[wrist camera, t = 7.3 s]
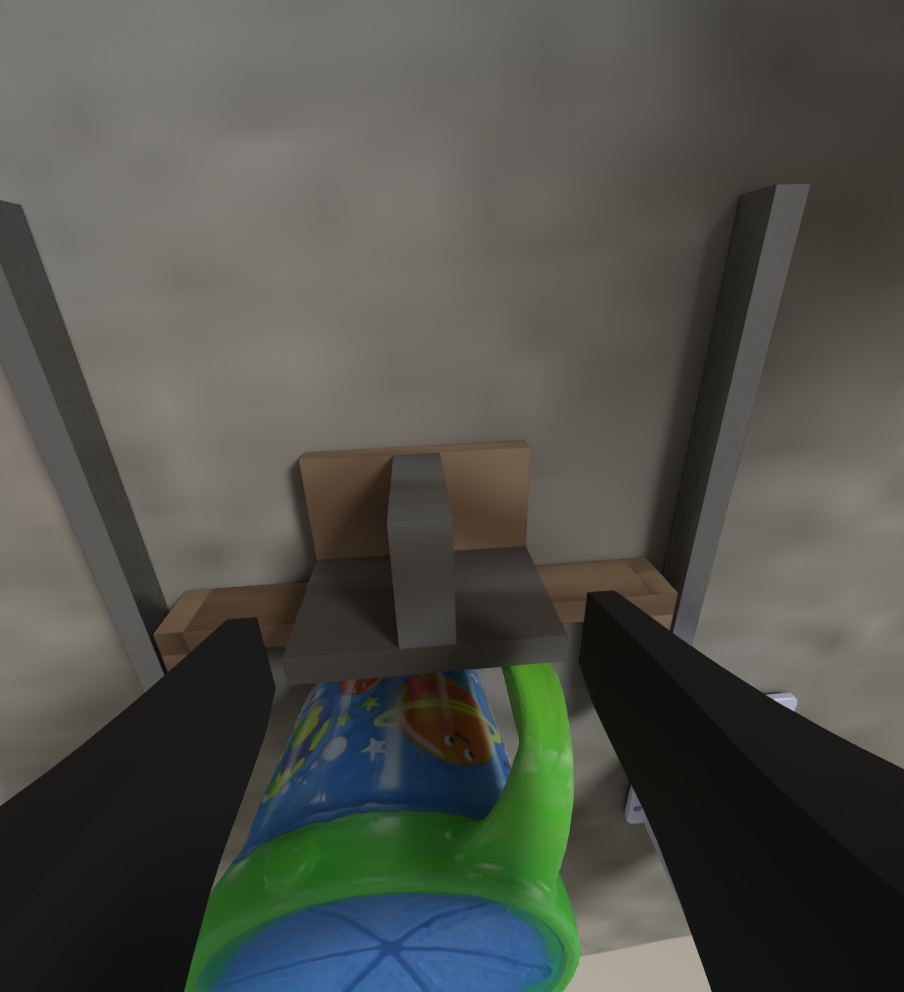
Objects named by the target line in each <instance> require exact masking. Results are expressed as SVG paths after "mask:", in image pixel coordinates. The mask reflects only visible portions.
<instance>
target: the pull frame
mask: <svg viewBox="0 0 904 992" xmlns="http://www.w3.org/2000/svg"><path fill="white" fill-rule="evenodd" d="M299 464H300V469H301V475H302V480H303V486H304V492H305V497H306V503H307V508H308V514H309V519H310V525H311V531H312V536H313V542H314V547H315V553H316V558H317V561H316V564H315V567H314V569H313V572H312V575H311V578H310V581H309V582H302V583H288V584H274V585H260V586H246V587H232V588H218V589H205V590H191V591H186V592H185V593H184V594H183V596H182V597H181V598H180V600H179V601H178V602H177V604H176V605H175V606H174V608H173V609H172V610H171V611H170V613H169V614H168V615H167V617H166V618H165V619H164V621H163V622H162V623H161V625H160V626H159V627H158V629H157V630H156V631H155V633H154V634H153V635H154V638H155V640H156V643H157V645H158V648H159V650H160V653H161V656H162V658H163V661H164V663H165V666H166V668H167V671H168V672H169V671H170V670H171V669H172V668H173V667H174V666H176V665H177V664H178V663H179V662H180V661H181V660H182V659H183V658H184V657H186V656H187V655H188V654H189V653H190V652H191V651H192V650H193V649H194V648H196V647H197V646H198V645H199V644H200V643H201V642H202V641H203V640H204V639H205V638H207V637H208V636H209V635H210V634H211V633H212V632H213V631H214V630H216V629H217V628H218V627H219V626H220V625H221V624H223V623H224V622H225V621H226V620H227V619H238V618H251V617H257V618H258V622H259V626H260V630H261V634H262V638H263V642H264V645H265V648H268V647H280V646H286V649H285V652H284V655H283V658H282V660H283V664H284V668H285V673H286V677H287V681H288V685H300V684H311V683H323V682H334V681H345V680H357V679H368V678H380V677H391V676H402V675H414V674H425V673H436V672H448V671H459V670H470V669H482V668H493V667H505V666H516V665H527V664H539V663H550V662H561V661H565V651H566V642H567V633H566V631H565V629H564V627H563V625H562V623H573V622H584V615H585V607H586V599H587V592H596V591H609V590H614V591H616V592H617V593H619V594H620V595H622V596H623V597H625V598H626V599H627V600H629V601H630V602H632V603H633V604H634V605H636V606H637V607H638V608H640V609H641V610H643V611H644V612H645V613H647V614H648V615H649V616H651V617H652V618H653V619H655V620H656V621H657V622H659V623H660V624H662V625H663V626H664V627H666V628H667V629H668V630H670V626H671V621H672V617H673V613H674V608H675V604H676V599H677V595H678V593H677V592H676V590H675V589H674V588H673V587H672V586H671V585H670V584H669V583H668V582H667V581H666V579H665V578H664V577H663V576H662V575H661V574H660V573H659V572H658V571H657V570H656V568H655V567H654V566H653V565H652V564H651V563H650V562H649V561H648V560H647V559H646V558H634V559H620V560H606V561H592V562H578V563H564V564H551V565H537V566H535V565H534V563H533V561H532V559H531V556H530V554H529V552H528V550H527V548H526V526H527V505H528V485H529V465H530V447H529V445H528V444H527V443H526V442H525V441H514V442H495V443H475V444H456V445H437V446H418V447H399V448H380V449H360V450H341V451H322V452H304V453H303V455H302V456H301V458H300V459H299Z"/></svg>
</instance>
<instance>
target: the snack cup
mask: <svg viewBox="0 0 904 992" xmlns="http://www.w3.org/2000/svg"><path fill="white" fill-rule="evenodd" d="M502 670H503V674H504V678H505V682H506V686H507V691H508V695H509V698H510V704H511V708H512V712H513V716H514V720H515V724H516V728H517V731H518V736H519V748H518V751H517V754H516V756H515V759H514V762H513V765H511V761H510V759H509V757H508V754H507V752H506V749H505V747H504V744H503V741H502V737H501V734H500V732H499V729H498V727H497V724H496V721H495V718H494V716H493V713H492V710H491V707H490V705H489V702H488V699H487V697H486V694H485V691H484V690H483V688H482V686H481V684H480V680H479V678H478V675H477V673H476V672H475V670H474V669H470V670H459V671H448V672H436V673H425V674H414V675H402V676H391V677H380V678H368V679H357V680H345V681H334V682H323V683H314V685H313V687H312V689H311V691H310V693H309V694H308V697H307V699H306V701H305V703H304V705H303V707H302V710H301V712H300V714H299V716H298V718H297V721H296V723H295V725H294V728H293V731H292V733H291V735H290V737H289V739H288V741H287V743H286V745H285V748H284V750H283V752H282V754H281V756H280V759H279V761H278V763H277V765H276V768H275V770H274V772H273V774H272V777H271V779H270V781H269V784H268V786H267V788H266V791H265V793H264V795H263V798H262V800H261V803H260V805H259V808H258V811H257V814H256V816H255V818H254V820H253V823H252V826H251V829H250V832H249V834H248V837H247V840H246V843H245V845H244V847H243V849H242V851H241V853H240V854H239V856H238V857H237V859H235V860H234V861H233V863H232V864H231V865H230V867H229V868H228V870H227V871H226V872H225V874H224V875H223V876H222V878H221V879H220V880H219V882H218V883H217V885H216V886H215V887H214V889H213V890H212V892H211V894H210V895H209V899H208V903H207V907H206V910H205V914H204V918H203V922H202V925H201V929H200V933H199V936H198V940H197V944H196V948H195V951H194V955H193V959H192V963H191V967H190V971H189V975H188V979H187V983H186V987H185V991H184V992H563V991H564V990H565V989H566V987H567V986H568V984H569V983H570V981H571V980H572V978H573V976H574V974H575V971H576V969H577V966H578V964H579V959H580V954H581V948H580V940H579V936H578V932H577V926H576V922H575V918H574V914H573V910H572V906H571V903H570V900H569V897H568V894H567V891H566V888H565V885H564V882H563V879H562V877H561V875H560V873H559V870H560V868H561V864H562V860H563V857H564V854H565V851H566V846H567V840H568V837H569V831H570V824H571V814H572V809H573V798H574V775H573V751H572V741H571V735H570V727H569V720H568V715H567V708H566V703H565V698H564V693H563V690H562V687H561V684H560V680H559V677H558V675H557V673H556V672H555V670H554V669H553V667H552V666H551V664H550V663H539V664H527V665H516V666H505V667H502Z"/></svg>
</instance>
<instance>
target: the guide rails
mask: <svg viewBox="0 0 904 992" xmlns="http://www.w3.org/2000/svg"><path fill="white" fill-rule="evenodd" d="M810 185H811V184H777V185H773V186H770V187H767V188H764V189H760V190H757V191H754V192H751V193H747V194H744V195H741V196H740V201H739V205H738V210H737V215H736V220H735V225H734V230H733V235H732V240H731V244H730V249H729V254H728V259H727V264H726V269H725V274H724V279H723V283H722V288H721V293H720V298H719V303H718V308H717V313H716V318H715V323H714V327H713V332H712V337H711V342H710V347H709V352H708V357H707V362H706V366H705V371H704V376H703V381H702V386H701V391H700V396H699V401H698V405H697V410H696V415H695V420H694V425H693V430H692V435H691V440H690V444H689V449H688V454H687V459H686V464H685V469H684V474H683V479H682V483H681V488H680V493H679V498H678V503H677V508H676V513H675V518H674V522H673V527H672V532H671V537H670V542H669V547H668V552H667V557H666V561H665V566H664V571H663V577H664V578H665V579H666V581H667V582H668V583H669V584H670V585H671V586H672V587H673V588H674V589H675V590H676V592H677V593H678V595H677V599H676V604H675V608H674V613H673V617H672V621H671V626H670V631H671V632H673V633H674V634H675V635H677V636H678V637H679V638H681V639H682V640H684V641H685V642H686V643H688V644H689V645H691V646H692V642H693V638H694V635H695V631H696V627H697V623H698V619H699V615H700V611H701V607H702V604H703V600H704V596H705V592H706V588H707V584H708V580H709V576H710V573H711V569H712V565H713V561H714V557H715V553H716V549H717V545H718V542H719V538H720V534H721V530H722V526H723V522H724V518H725V514H726V511H727V507H728V503H729V499H730V495H731V491H732V487H733V483H734V479H735V476H736V472H737V468H738V464H739V460H740V456H741V452H742V448H743V445H744V441H745V437H746V433H747V429H748V425H749V421H750V417H751V414H752V410H753V406H754V402H755V398H756V394H757V390H758V386H759V383H760V379H761V375H762V371H763V367H764V363H765V359H766V355H767V352H768V348H769V344H770V340H771V336H772V332H773V328H774V324H775V321H776V317H777V313H778V309H779V305H780V301H781V297H782V293H783V289H784V286H785V282H786V278H787V274H788V270H789V266H790V262H791V258H792V255H793V251H794V247H795V243H796V239H797V235H798V231H799V227H800V224H801V220H802V216H803V212H804V208H805V204H806V200H807V196H808V193H809V189H810ZM0 360H1V362H2V365H3V367H4V369H5V372H6V374H7V376H8V379H9V381H10V383H11V385H12V388H13V390H14V392H15V395H16V397H17V399H18V402H19V404H20V406H21V409H22V411H23V413H24V415H25V418H26V420H27V422H28V425H29V427H30V429H31V432H32V434H33V436H34V439H35V441H36V443H37V446H38V448H39V450H40V452H41V455H42V457H43V459H44V462H45V464H46V466H47V469H48V471H49V473H50V476H51V478H52V480H53V482H54V485H55V487H56V489H57V492H58V494H59V496H60V499H61V501H62V503H63V506H64V508H65V510H66V513H67V515H68V517H69V519H70V522H71V524H72V526H73V529H74V531H75V533H76V536H77V538H78V540H79V543H80V545H81V547H82V549H83V552H84V554H85V556H86V559H87V561H88V563H89V566H90V568H91V570H92V573H93V575H94V577H95V580H96V582H97V584H98V586H99V589H100V591H101V593H102V596H103V598H104V600H105V603H106V605H107V607H108V610H109V612H110V614H111V617H112V619H113V621H114V623H115V626H116V628H117V630H118V633H119V635H120V637H121V640H122V642H123V644H124V647H125V649H126V651H127V653H128V656H129V658H130V660H131V663H132V665H133V667H134V670H135V672H136V674H137V677H138V679H139V681H140V684H141V686H142V688H143V690H144V693H145V692H146V691H147V690H148V689H150V688H151V687H152V686H153V685H154V684H155V683H156V682H158V681H159V680H160V679H161V678H162V677H163V676H164V675H165V674H167V673H168V671H167V668H166V666H165V663H164V661H163V658H162V656H161V653H160V650H159V648H158V645H157V643H156V640H155V638H154V635H153V634H154V633H155V631H156V630H157V629H158V627H159V626H160V625H161V623H162V622H163V621H164V619H165V618H166V617H167V615H168V614H169V611H168V608H167V605H166V603H165V600H164V597H163V594H162V592H161V589H160V586H159V583H158V581H157V578H156V575H155V572H154V570H153V567H152V564H151V561H150V559H149V556H148V553H147V550H146V548H145V545H144V542H143V539H142V537H141V534H140V531H139V528H138V526H137V523H136V520H135V517H134V515H133V512H132V509H131V506H130V504H129V501H128V498H127V495H126V493H125V490H124V487H123V484H122V482H121V479H120V476H119V473H118V471H117V468H116V465H115V462H114V459H113V457H112V454H111V451H110V448H109V446H108V443H107V440H106V437H105V435H104V432H103V429H102V426H101V424H100V421H99V418H98V415H97V413H96V410H95V407H94V404H93V402H92V399H91V396H90V393H89V391H88V388H87V385H86V382H85V380H84V377H83V374H82V371H81V369H80V366H79V363H78V360H77V358H76V355H75V352H74V349H73V347H72V344H71V341H70V338H69V336H68V333H67V330H66V327H65V325H64V322H63V319H62V316H61V314H60V311H59V308H58V305H57V303H56V300H55V297H54V294H53V292H52V289H51V286H50V283H49V281H48V278H47V275H46V272H45V270H44V267H43V264H42V261H41V259H40V256H39V253H38V250H37V248H36V245H35V242H34V239H33V237H32V234H31V231H30V228H29V226H28V223H27V220H26V217H25V215H24V212H23V209H22V206H21V205H18V204H14V203H10V202H6V201H2V200H0Z"/></svg>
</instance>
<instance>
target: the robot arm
mask: <svg viewBox="0 0 904 992" xmlns="http://www.w3.org/2000/svg"><path fill="white" fill-rule="evenodd" d="M579 664H580V667H581V670H582V673H583V676H584V679H585V682H586V685H587V688H588V691H589V694H590V697H591V700H592V702H593V705H594V708H595V710H596V712H597V714H598V716H599V718H600V720H601V723H602V725H603V727H604V729H605V731H606V733H607V735H608V737H609V740H610V742H611V744H612V746H613V748H614V750H615V752H616V754H617V756H618V758H619V760H620V763H621V765H622V767H623V769H624V771H625V773H626V775H627V777H628V779H629V781H630V783H631V786H630V791H629V795H628V800H627V804H626V809H625V813H624V815H625V818H626V820H627V822H628V823H631V824H636V823H644V825H645V827H646V829H647V831H648V834H649V836H650V838H651V840H652V843H653V845H654V847H655V849H656V852H657V854H658V856H659V858H660V861H661V863H662V865H663V867H664V870H665V872H666V874H667V876H668V879H669V881H670V883H671V885H672V888H673V890H674V892H675V894H676V897H677V899H678V901H679V903H680V905H681V908H682V910H683V912H684V915H685V917H686V920H687V923H688V926H689V928H690V931H691V934H692V937H693V940H694V942H695V945H696V948H697V951H698V953H699V956H700V959H701V962H702V965H703V967H704V970H705V973H706V976H707V979H708V982H709V985H710V988H711V991H712V992H904V769H902V768H900V767H898V766H896V765H894V764H892V763H890V762H888V761H886V760H884V759H882V758H880V757H878V756H876V755H874V754H872V753H870V752H868V751H866V750H864V749H862V748H860V747H858V746H856V745H854V744H852V743H851V742H849V741H847V740H845V739H843V738H841V737H839V736H837V735H835V734H834V733H832V732H830V731H828V730H826V729H824V728H822V727H821V726H819V725H817V724H815V723H814V722H812V721H810V720H808V719H807V718H805V717H803V716H801V715H800V714H798V713H796V712H794V710H795V708H796V705H797V699H796V698H795V697H794V696H793V695H792V694H790V693H778V694H767V695H765V694H764V693H762V692H760V691H759V690H757V689H755V688H754V687H752V686H751V685H749V684H748V683H746V682H745V681H743V680H741V679H740V678H738V677H737V676H735V675H734V674H732V673H731V672H729V671H727V670H726V669H724V668H723V667H721V666H720V665H718V664H717V663H715V662H714V661H712V660H711V659H709V658H708V657H707V656H705V655H704V654H702V653H701V652H699V651H698V650H696V649H695V648H694V647H692V646H691V645H689V644H688V643H686V642H685V641H684V640H682V639H681V638H679V637H678V636H677V635H675V634H674V633H673V632H671V631H670V630H668V629H667V628H666V627H664V626H663V625H662V624H660V623H659V622H657V621H656V620H655V619H653V618H652V617H651V616H649V615H648V614H647V613H645V612H644V611H643V610H641V609H640V608H638V607H637V606H636V605H634V604H633V603H632V602H630V601H629V600H627V599H626V598H625V597H623V596H622V595H620V594H619V593H617V592H616V591H614V590H609V591H596V592H587V599H586V607H585V615H584V623H583V632H582V640H581V648H580V656H579ZM274 693H275V684H274V680H273V676H272V672H271V668H270V665H269V661H268V657H267V653H266V649H265V645H264V642H263V638H262V634H261V630H260V626H259V622H258V618H257V617H251V618H238V619H227V620H226V621H225V622H224V623H223V624H221V625H220V626H219V627H218V628H217V629H216V630H214V631H213V632H212V633H211V634H210V635H209V636H208V637H207V638H205V639H204V640H203V641H202V642H201V643H200V644H199V645H198V646H197V647H196V648H194V649H193V650H192V651H191V652H190V653H189V654H188V655H187V656H186V657H184V658H183V659H182V660H181V661H180V662H179V663H178V664H177V665H176V666H174V667H173V668H172V669H171V670H170V671H169V672H168V673H167V674H165V675H164V676H163V677H162V678H161V679H160V680H159V681H158V682H156V683H155V684H154V685H153V686H152V687H151V688H150V689H148V690H147V691H146V692H145V693H144V694H143V695H142V696H141V697H139V698H138V699H137V700H136V701H135V702H133V703H132V704H131V705H130V706H129V707H127V708H126V709H125V710H124V711H123V712H121V713H120V714H119V715H118V716H116V717H115V718H114V719H113V720H112V721H110V722H109V723H108V724H107V725H106V726H104V727H103V728H102V729H101V730H100V731H98V732H97V733H96V734H95V735H94V736H92V737H91V738H90V739H89V740H87V741H86V742H85V743H84V744H83V745H81V746H80V747H79V748H78V749H76V750H75V751H74V752H72V753H71V754H70V755H69V756H67V757H66V758H65V759H63V760H62V761H61V762H60V763H58V764H57V765H56V766H54V767H53V768H52V769H50V770H49V771H48V772H46V773H45V774H44V775H42V776H41V777H40V778H38V779H37V780H36V781H34V782H33V783H31V784H30V785H29V786H27V787H26V788H25V789H23V790H22V791H20V792H19V793H18V794H16V795H15V796H14V797H12V798H11V799H10V800H8V801H7V802H5V803H4V804H3V805H1V806H0V992H184V991H185V987H186V983H187V979H188V975H189V971H190V967H191V963H192V959H193V955H194V951H195V948H196V944H197V940H198V936H199V933H200V929H201V925H202V922H203V918H204V914H205V910H206V907H207V903H208V899H209V895H210V892H211V888H212V885H213V882H214V879H215V876H216V873H217V870H218V867H219V864H220V860H221V857H222V855H223V852H224V849H225V846H226V844H227V841H228V838H229V835H230V832H231V830H232V827H233V824H234V821H235V818H236V816H237V813H238V810H239V807H240V805H241V802H242V799H243V796H244V793H245V791H246V788H247V785H248V782H249V780H250V777H251V774H252V771H253V768H254V765H255V763H256V760H257V757H258V754H259V751H260V748H261V745H262V742H263V739H264V737H265V732H266V728H267V724H268V720H269V716H270V711H271V707H272V702H273V697H274Z"/></svg>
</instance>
